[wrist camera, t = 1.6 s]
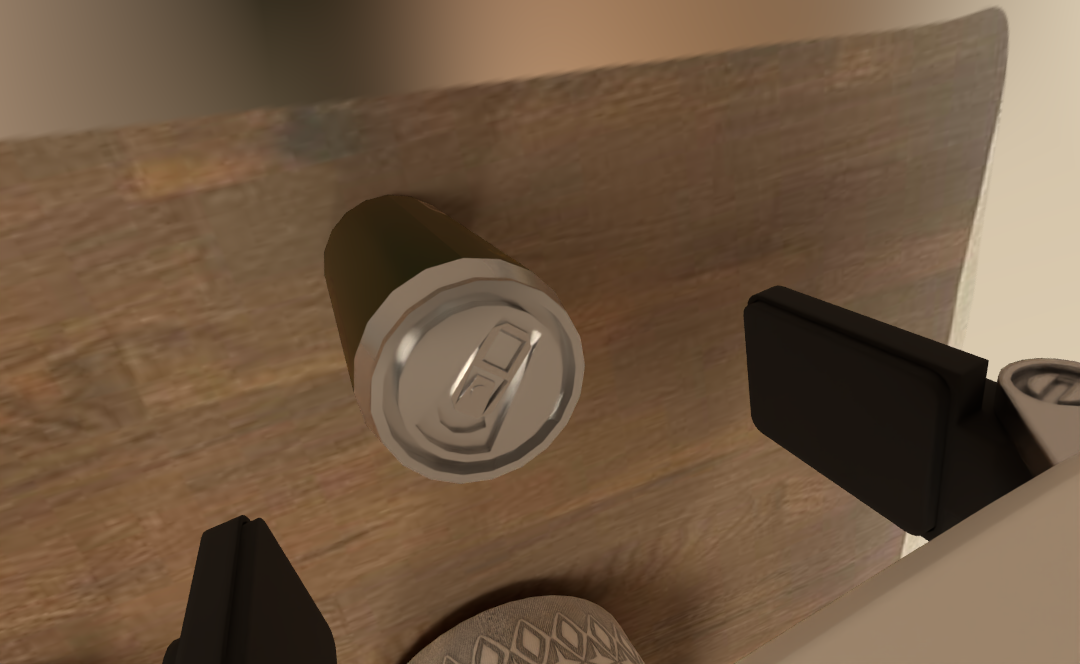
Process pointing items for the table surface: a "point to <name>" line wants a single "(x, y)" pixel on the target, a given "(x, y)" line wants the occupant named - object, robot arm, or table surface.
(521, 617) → the planter
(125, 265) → the table surface
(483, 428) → the guarana soda can
